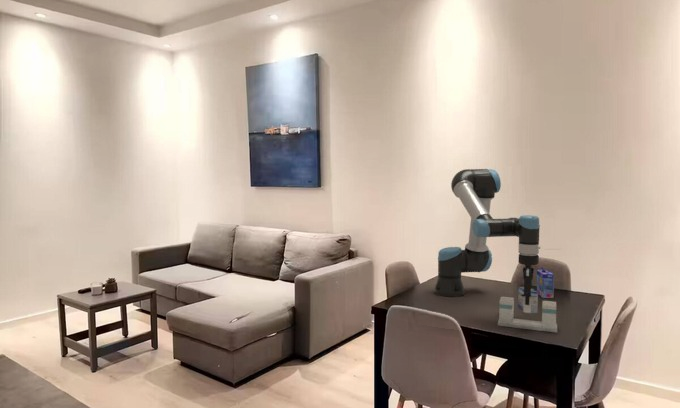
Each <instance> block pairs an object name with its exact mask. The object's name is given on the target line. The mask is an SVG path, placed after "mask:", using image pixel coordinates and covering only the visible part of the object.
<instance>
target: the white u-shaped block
mask: <svg viewBox="0 0 680 408" xmlns="http://www.w3.org/2000/svg"><path fill="white" fill-rule="evenodd" d="M514 300H515V298H514V297H510V296H501V297H500V299H499V306H498V307H499V309H498V310H499V311H498V312H499V313H498V314H499V315H498V316H499V318H498V321H497V326H498V327H507V328H515V329H522V330H529V331H530V330H534V331H541V332H547V333H554V334H555V333H557V334H558V323H557V301H552V300H542V304H541V305H542V307H541V311H542V312H541V314H542V315H541V321H538V320H530V319H521V318H514V313H515V311H514V309H515V308H514V307H515V306H514V305H515V301H514Z"/></svg>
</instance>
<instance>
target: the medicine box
mask: <svg viewBox="0 0 680 408" xmlns="http://www.w3.org/2000/svg"><path fill="white" fill-rule="evenodd" d="M522 294H524V286H520V287H518V296H517V297H518V298H517V300H518V301H517V302H518V303H517V308H518V309H520V311H521V310H522V311H523V309H524V296H522ZM538 303H539V294H538V292H537V290H535V289H534V290H533V289H531V313H530V314H537V313H538V308H539V307H538V306H539V305H538Z"/></svg>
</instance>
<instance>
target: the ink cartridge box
mask: <svg viewBox="0 0 680 408" xmlns="http://www.w3.org/2000/svg"><path fill="white" fill-rule="evenodd" d="M540 268H541V269H536V291H537V292H538V296H540V297H541V298H542V299H554V296H555V294H554V293H555V292H554V291H555V290H554V285H555V284H554V282H555V281H554V279H555V278H554V273H553V272H551V271H549V270H548V269H545V268H544V267H543V266H540Z"/></svg>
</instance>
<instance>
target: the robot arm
mask: <svg viewBox="0 0 680 408" xmlns="http://www.w3.org/2000/svg"><path fill="white" fill-rule="evenodd" d="M450 184H451V185H450V187H451V191H452V193H453V194H454V196H455V197H456V198H458V199H459V200H460V202H461V204H462V205H463V207H464V208H465V210H466V212H467V213H468V215H469V217H470V227H469V235H468V242H467V243H466V244H465V245H464V249H462V247H461V246H449V247H444V248H443V247H442V248H441V249H440V250H439V251H438V252H437V253H438V255H437V257H438V258H437V267H438V268H437V274H438V275H437V280H436V283H435V285H434V286H435V287H434V294H436V295H439V296H443V297H461V296H463V295H465V293H466V292H465V287H464V286H465V285H464V282H463V280H462V273H481V272H487V271H488V270H489V269H490V268H491V266H492V262H493V257H492V255H493V253H492V252H491V250H490V249H489V247H488V245H487V238H496V237H498V238H499V237H503V238H505V237H518V264H520V265H524V267H523V268H522V273H523V278H522V279H523V287H524V294H522V296H524V309H523V310H522V312H523V313H526V314H532V313H531V289H533V290H535V288H534V287H533V278H534V271H535V270H534V269H535V268H534V267H533V266H537V265H538V264H540V263H539V261H540V259H539V258H540V257H539V252H540V251H539V250H540V249H542V247H541V246H539V245H540V227H541V225H540V218H539V216H537V215H529V214H528V215H524V214H523V215H520V216H519V218H518V217H508V218H493V217H492V216H491V212H490V211H491V210H490V209H491V201H492V200H493V199H495V196H496V195H495V194H497V193H499V192H500V191H501V186H502V183H501V177H500V175H499V173H498V171H497V170H495V169H491V168H490V169H488V168H475V169H473V168H469V169H468V168H467V169H462V170H459V171H458V172H456V174H455V175H454V176H453V178H452V180H451V183H450Z"/></svg>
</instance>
